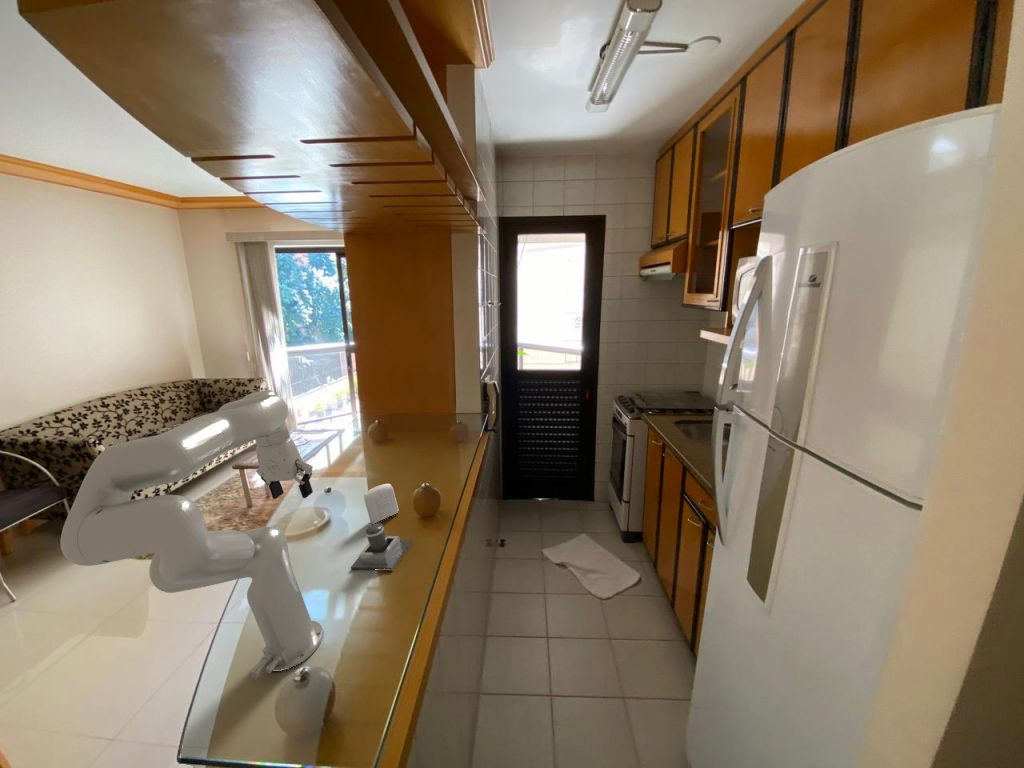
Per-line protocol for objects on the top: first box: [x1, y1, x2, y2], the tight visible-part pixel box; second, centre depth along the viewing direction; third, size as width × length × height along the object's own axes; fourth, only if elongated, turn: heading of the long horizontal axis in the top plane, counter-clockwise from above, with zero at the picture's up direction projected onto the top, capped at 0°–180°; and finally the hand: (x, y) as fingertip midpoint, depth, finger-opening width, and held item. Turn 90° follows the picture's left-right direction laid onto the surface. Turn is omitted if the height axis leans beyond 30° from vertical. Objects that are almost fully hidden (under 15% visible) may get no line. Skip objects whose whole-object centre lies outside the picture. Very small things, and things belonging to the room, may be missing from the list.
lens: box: [365, 522, 389, 553], centre depth 119 cm, size 5×5×9 cm
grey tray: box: [350, 535, 413, 571], centre depth 120 cm, size 12×14×4 cm
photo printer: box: [363, 483, 400, 525], centre depth 141 cm, size 10×4×12 cm, turn 123°
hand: (293, 495), depth 107 cm, fingers open, 9 cm apart
